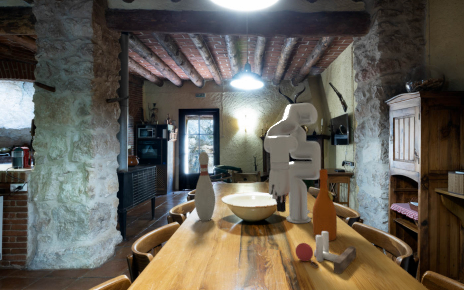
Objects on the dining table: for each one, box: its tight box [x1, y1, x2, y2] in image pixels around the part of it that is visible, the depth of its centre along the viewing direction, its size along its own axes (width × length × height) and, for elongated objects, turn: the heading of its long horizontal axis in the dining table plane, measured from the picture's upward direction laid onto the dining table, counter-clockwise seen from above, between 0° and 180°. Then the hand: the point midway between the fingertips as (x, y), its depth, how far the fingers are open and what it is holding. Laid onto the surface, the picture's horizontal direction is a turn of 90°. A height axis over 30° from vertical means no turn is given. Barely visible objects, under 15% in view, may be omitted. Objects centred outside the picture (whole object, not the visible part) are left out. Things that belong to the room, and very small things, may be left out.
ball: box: [295, 242, 314, 262], centre depth 91 cm, size 6×6×6 cm
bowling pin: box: [193, 151, 216, 222], centre depth 144 cm, size 11×12×38 cm
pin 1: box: [315, 235, 324, 262], centre depth 91 cm, size 2×2×8 cm
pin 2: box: [322, 231, 330, 253], centre depth 95 cm, size 2×2×8 cm
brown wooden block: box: [333, 245, 357, 275], centre depth 88 cm, size 16×2×4 cm, turn 138°
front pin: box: [313, 248, 340, 262], centre depth 92 cm, size 2×2×8 cm
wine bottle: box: [312, 168, 338, 242], centre depth 112 cm, size 10×10×30 cm
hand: (281, 211), depth 105 cm, fingers closed
